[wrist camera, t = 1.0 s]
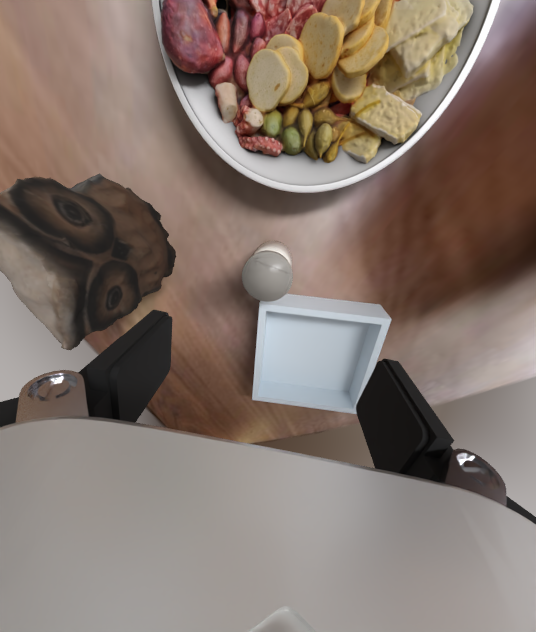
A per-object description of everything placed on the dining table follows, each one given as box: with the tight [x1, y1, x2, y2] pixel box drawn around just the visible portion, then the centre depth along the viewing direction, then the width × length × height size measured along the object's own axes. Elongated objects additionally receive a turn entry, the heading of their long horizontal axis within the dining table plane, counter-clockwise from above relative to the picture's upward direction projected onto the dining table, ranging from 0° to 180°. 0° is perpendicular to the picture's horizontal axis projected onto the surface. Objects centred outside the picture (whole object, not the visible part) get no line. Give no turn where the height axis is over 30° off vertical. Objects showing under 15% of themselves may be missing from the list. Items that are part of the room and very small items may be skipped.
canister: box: [242, 241, 293, 302], centre depth 32 cm, size 6×6×9 cm
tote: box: [252, 294, 392, 414], centre depth 40 cm, size 18×18×5 cm
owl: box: [0, 173, 176, 350], centre depth 28 cm, size 13×13×20 cm
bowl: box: [152, 0, 500, 193], centre depth 22 cm, size 30×30×8 cm
